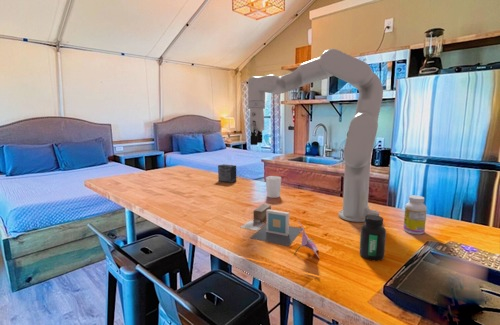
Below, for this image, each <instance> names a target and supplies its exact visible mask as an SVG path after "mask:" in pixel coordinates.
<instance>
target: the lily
mask: <svg viewBox="0 0 500 325" xmlns="http://www.w3.org/2000/svg"><path fill="white" fill-rule="evenodd" d="M297 222H298V224H299V225H300V228H302V229H303V230H302V231H300V234H301V235H302V237H301V244H300V245H299V247H298V248H297V249H296V250H295V252H294V253H293V255H296V254H297V252H298V250H299V249H300V248H302V247H305V248H308V249H310V250H312V251H313V252H314V254H315V255H316V257H318V259H320V257H319V255H318V253H317V251H319V249H318V247H317V245H316V244H315V243H314V240H315V238H309V236H308V235H307V234H306V232H305V229H304V227H303V225H302V224H301V222H300V221H299V220H297Z"/></svg>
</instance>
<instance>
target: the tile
mask: <svg viewBox="0 0 500 325" xmlns="http://www.w3.org/2000/svg"><path fill="white" fill-rule="evenodd" d="M265 221H266V222H265V223H266V224H265V225H266V232H270V233H275V234H280V235H285V236H288V235H289V226H290V212H289V211H281V210H276V209H275V210H273V209H271V210H270V209H268V210H266V220H265Z"/></svg>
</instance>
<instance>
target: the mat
mask: <svg viewBox="0 0 500 325" xmlns="http://www.w3.org/2000/svg"><path fill="white" fill-rule="evenodd" d="M300 231H302V232H303V229H302V227H296V226H291V225H289V235H288V236H285V235H280V234H275V233H270V232H266V224H265V225H263V226H262V227H261V228H260V229H259V230H257V231H256V232H255V233H253V235H251V236H250V237H249V239H252V240H255V241H256V240H257V241H262V242H265V243H272V244H275V245H280V246H284V247H290V246H291V245H292V243H293V242H294V241H295V240H296V239H297V237H298V236H299V235H300V234H301V232H300Z"/></svg>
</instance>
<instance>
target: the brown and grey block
mask: <svg viewBox="0 0 500 325" xmlns="http://www.w3.org/2000/svg"><path fill="white" fill-rule="evenodd" d="M268 209H270V210H272V205H271V204H265V203H262V204H261V205H259V206H258V207H257V208H254V209H253V213H252V214H253V219H252V220H249V221H247V222H246V223H244V224H242V225H241V226H240V229H245V230H251V231H256V232H258V231H259V230H260V229H261V228H262V227H264V226H265V225H266V222H265V221H266V210H268Z"/></svg>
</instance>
